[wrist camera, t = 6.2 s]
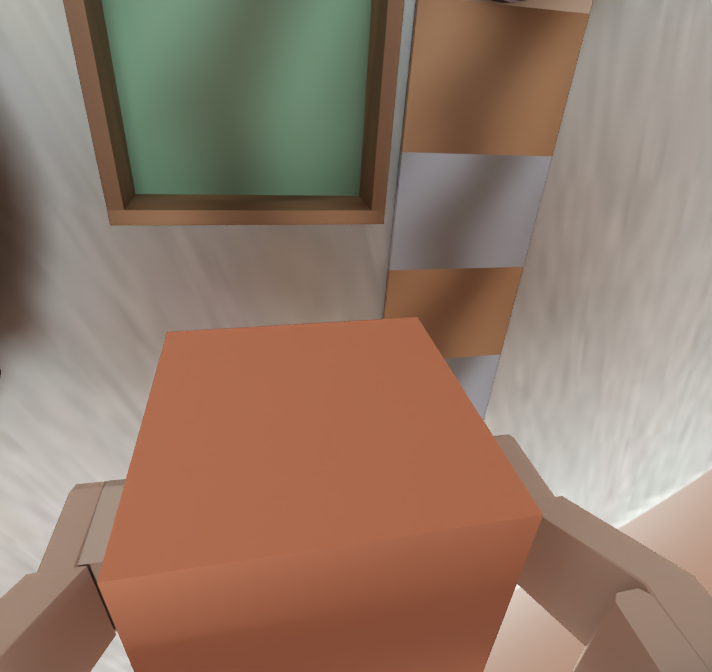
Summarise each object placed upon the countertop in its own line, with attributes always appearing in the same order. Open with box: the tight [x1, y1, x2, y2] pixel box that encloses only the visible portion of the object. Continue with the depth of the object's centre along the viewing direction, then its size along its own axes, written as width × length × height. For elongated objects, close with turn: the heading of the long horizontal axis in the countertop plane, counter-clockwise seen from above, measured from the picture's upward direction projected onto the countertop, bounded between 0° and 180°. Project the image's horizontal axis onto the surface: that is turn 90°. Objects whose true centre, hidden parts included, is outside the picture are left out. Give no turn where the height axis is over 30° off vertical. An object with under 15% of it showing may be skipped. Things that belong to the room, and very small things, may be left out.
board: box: [383, 0, 593, 420], centre depth 25 cm, size 8×30×1 cm, turn 176°
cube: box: [97, 317, 543, 672], centre depth 9 cm, size 5×5×5 cm
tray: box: [63, 0, 404, 225], centre depth 18 cm, size 11×11×3 cm
